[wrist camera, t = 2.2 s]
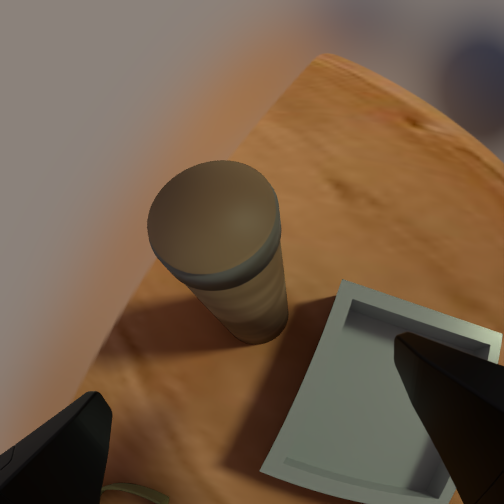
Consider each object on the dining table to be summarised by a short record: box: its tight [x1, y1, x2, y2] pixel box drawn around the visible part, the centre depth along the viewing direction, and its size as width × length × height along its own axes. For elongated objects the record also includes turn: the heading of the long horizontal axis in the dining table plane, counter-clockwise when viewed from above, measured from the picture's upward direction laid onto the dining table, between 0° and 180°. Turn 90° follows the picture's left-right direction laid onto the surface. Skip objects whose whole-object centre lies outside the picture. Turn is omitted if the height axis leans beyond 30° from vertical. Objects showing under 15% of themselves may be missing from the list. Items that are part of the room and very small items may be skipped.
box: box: [260, 279, 503, 504], centre depth 15 cm, size 12×12×3 cm
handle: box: [147, 160, 288, 344], centre depth 15 cm, size 5×5×12 cm
